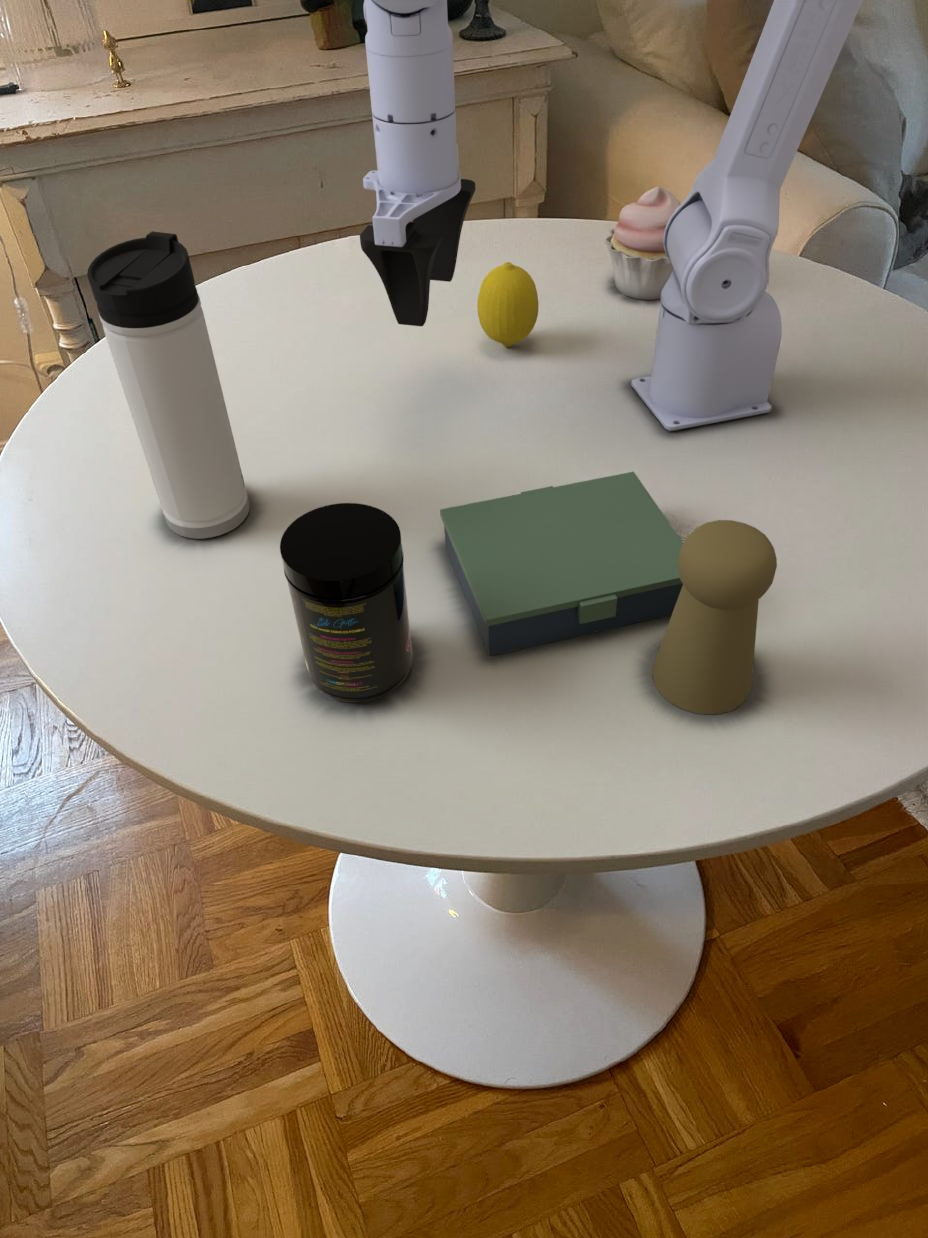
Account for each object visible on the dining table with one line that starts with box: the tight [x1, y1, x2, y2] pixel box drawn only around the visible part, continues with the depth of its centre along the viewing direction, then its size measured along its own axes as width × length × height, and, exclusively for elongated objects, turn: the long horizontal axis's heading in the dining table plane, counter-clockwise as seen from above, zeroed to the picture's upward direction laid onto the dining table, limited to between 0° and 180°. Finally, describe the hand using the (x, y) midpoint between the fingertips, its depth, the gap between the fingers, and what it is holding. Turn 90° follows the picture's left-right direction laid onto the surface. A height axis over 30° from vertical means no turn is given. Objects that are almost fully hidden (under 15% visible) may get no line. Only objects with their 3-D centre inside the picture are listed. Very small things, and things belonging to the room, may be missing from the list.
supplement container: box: [279, 502, 413, 703], centre depth 55 cm, size 7×7×10 cm
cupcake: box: [603, 186, 682, 301], centre depth 91 cm, size 9×9×10 cm
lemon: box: [476, 261, 539, 348], centre depth 84 cm, size 6×6×8 cm
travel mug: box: [86, 230, 251, 540], centre depth 63 cm, size 6×7×20 cm
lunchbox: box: [439, 471, 684, 656], centre depth 63 cm, size 14×12×4 cm
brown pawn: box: [651, 519, 778, 715], centre depth 53 cm, size 6×6×11 cm
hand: (426, 300), depth 73 cm, fingers open, 7 cm apart
